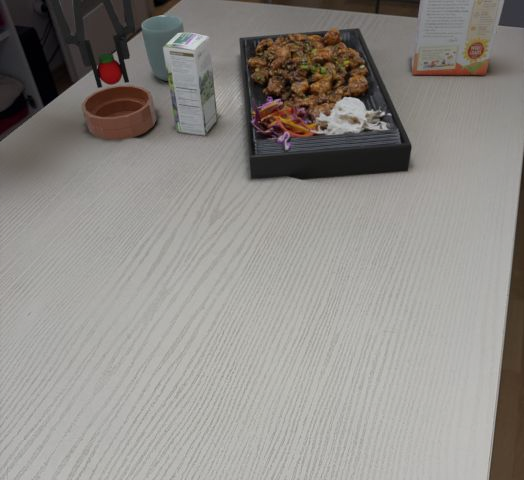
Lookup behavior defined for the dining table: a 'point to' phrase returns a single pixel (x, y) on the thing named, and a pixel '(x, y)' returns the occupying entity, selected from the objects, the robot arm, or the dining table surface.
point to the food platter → (318, 107)
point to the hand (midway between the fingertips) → (112, 81)
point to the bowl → (119, 112)
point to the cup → (159, 40)
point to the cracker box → (455, 36)
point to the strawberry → (109, 69)
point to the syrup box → (191, 82)
